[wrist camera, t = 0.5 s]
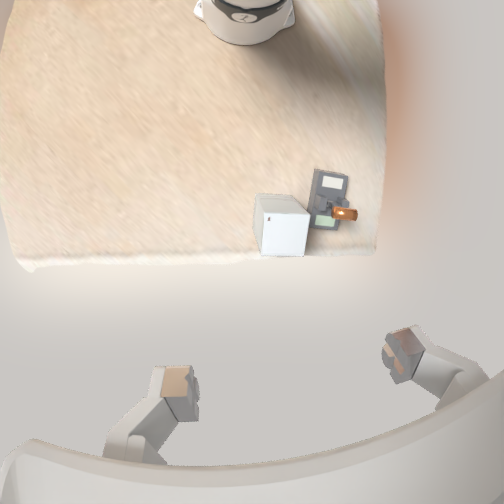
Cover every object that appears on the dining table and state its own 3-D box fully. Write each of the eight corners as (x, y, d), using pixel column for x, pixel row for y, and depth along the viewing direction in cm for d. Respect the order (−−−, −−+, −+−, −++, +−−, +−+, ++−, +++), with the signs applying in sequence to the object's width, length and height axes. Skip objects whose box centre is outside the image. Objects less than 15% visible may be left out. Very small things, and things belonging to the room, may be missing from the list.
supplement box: (251, 228, 55) (258, 256, 43) (254, 191, 52) (263, 210, 40) (288, 230, 55) (304, 258, 44) (292, 194, 52) (311, 214, 41)
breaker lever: (321, 196, 49) (337, 208, 42) (341, 199, 49) (358, 211, 42) (319, 207, 50) (334, 220, 43) (339, 209, 50) (355, 222, 43)
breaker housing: (314, 168, 50) (324, 173, 45) (342, 173, 51) (354, 179, 46) (304, 222, 55) (313, 232, 50) (331, 225, 56) (342, 235, 50)
